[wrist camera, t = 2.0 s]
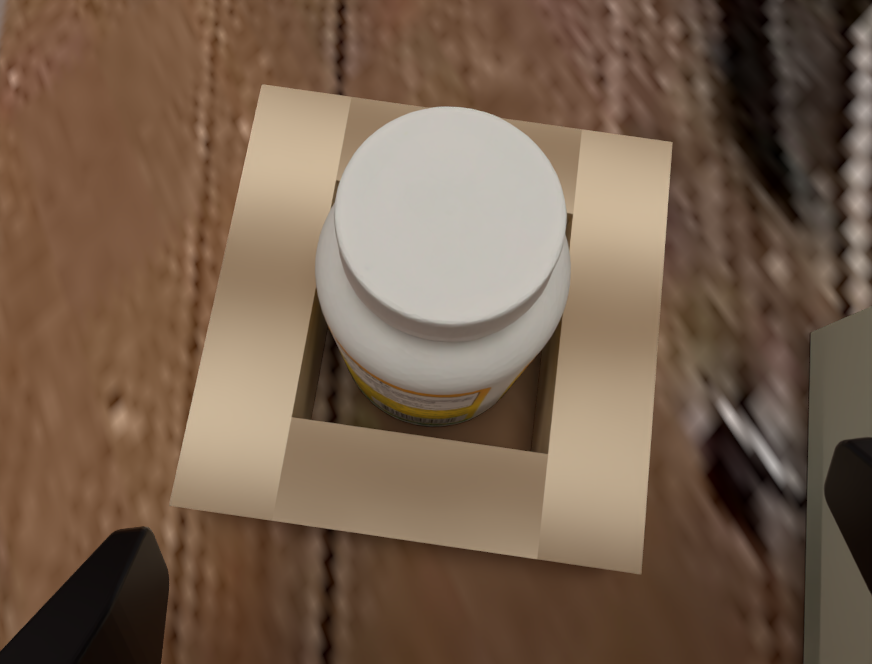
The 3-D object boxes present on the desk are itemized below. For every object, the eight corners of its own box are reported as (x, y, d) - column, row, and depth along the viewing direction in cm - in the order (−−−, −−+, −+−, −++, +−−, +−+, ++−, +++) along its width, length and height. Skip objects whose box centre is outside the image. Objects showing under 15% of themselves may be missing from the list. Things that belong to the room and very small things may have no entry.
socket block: (608, 563, 20) (641, 574, 17) (204, 505, 20) (169, 505, 17) (639, 188, 23) (672, 142, 20) (281, 137, 23) (261, 84, 20)
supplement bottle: (401, 462, 21) (386, 430, 11) (311, 305, 22) (232, 157, 12) (559, 369, 21) (668, 267, 12) (466, 221, 22) (500, 21, 13)
